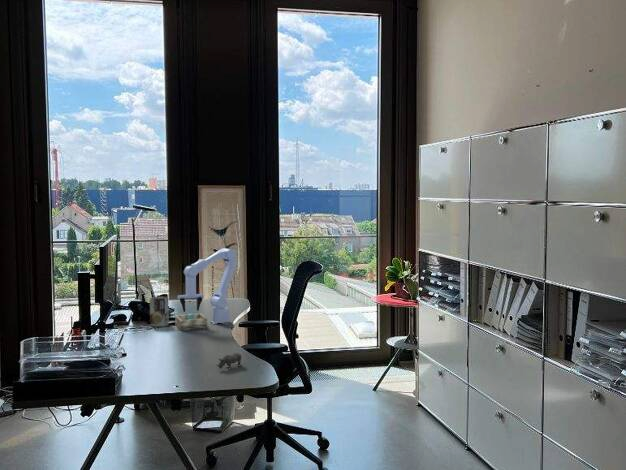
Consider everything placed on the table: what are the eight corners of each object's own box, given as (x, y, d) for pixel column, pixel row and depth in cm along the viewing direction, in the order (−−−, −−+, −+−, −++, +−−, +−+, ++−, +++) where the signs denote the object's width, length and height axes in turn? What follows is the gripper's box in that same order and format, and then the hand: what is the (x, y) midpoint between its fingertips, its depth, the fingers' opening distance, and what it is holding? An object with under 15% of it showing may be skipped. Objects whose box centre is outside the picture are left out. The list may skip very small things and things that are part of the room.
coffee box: (169, 324, 338) (168, 296, 337) (165, 326, 331) (165, 298, 330) (153, 323, 339) (153, 296, 338) (149, 326, 332) (149, 298, 331)
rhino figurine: (213, 370, 251) (213, 356, 250) (238, 363, 261) (238, 350, 260) (219, 372, 248) (219, 358, 247) (244, 365, 258) (244, 352, 257)
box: (201, 322, 342) (201, 313, 342) (207, 328, 329) (207, 318, 328) (175, 324, 336) (175, 315, 336) (180, 330, 323) (180, 320, 322)
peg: (193, 325, 335) (193, 313, 334) (194, 326, 331) (194, 314, 331) (187, 326, 333) (187, 314, 333) (188, 327, 330) (188, 315, 330)
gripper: (179, 289, 324) (179, 313, 325) (205, 287, 330) (205, 311, 331) (176, 287, 331) (177, 310, 332) (202, 285, 337) (202, 309, 337)
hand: (191, 311), depth 332 cm, fingers open, 7 cm apart
